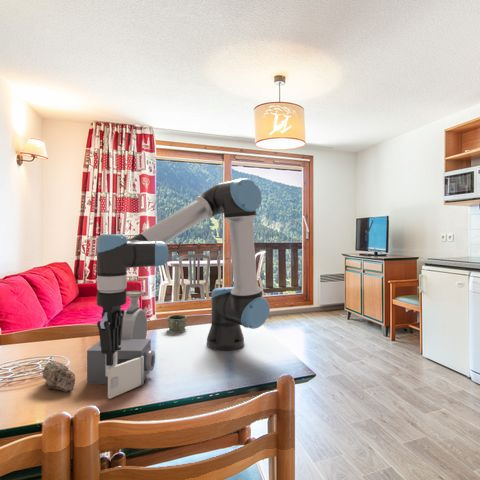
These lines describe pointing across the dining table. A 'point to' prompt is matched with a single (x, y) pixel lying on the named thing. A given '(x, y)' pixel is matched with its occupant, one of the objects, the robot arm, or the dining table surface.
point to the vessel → (177, 323)
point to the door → (125, 376)
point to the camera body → (118, 358)
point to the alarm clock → (134, 323)
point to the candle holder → (134, 297)
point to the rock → (58, 376)
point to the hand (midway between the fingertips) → (111, 375)
